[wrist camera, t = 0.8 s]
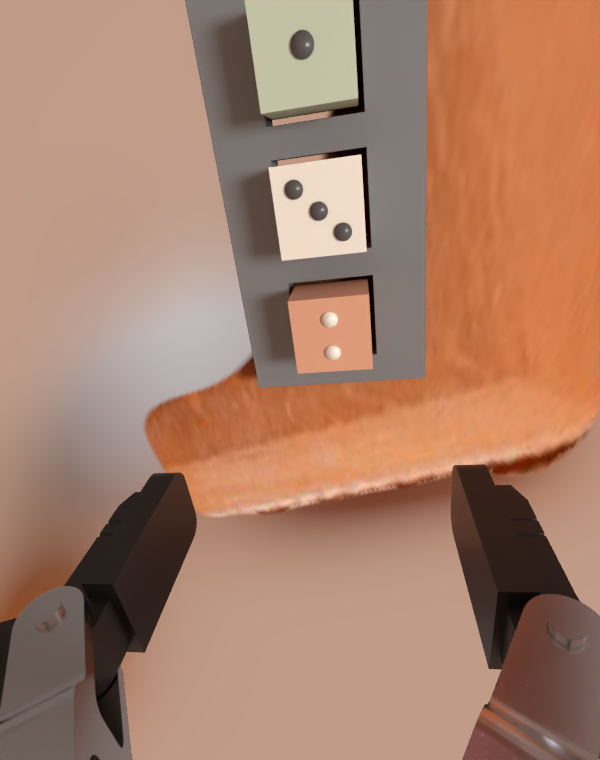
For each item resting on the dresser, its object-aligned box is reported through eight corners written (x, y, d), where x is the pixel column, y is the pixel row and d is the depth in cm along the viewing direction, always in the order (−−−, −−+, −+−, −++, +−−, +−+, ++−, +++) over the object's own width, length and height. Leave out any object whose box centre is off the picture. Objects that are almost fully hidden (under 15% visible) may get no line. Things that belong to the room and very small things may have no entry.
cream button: (279, 166, 21) (268, 167, 18) (360, 154, 20) (361, 154, 18) (290, 249, 23) (281, 261, 20) (365, 240, 22) (366, 252, 20)
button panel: (194, -20, 19) (177, -38, 18) (420, -70, 18) (427, -95, 16) (265, 373, 28) (259, 387, 26) (420, 363, 27) (425, 377, 25)
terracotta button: (294, 285, 24) (287, 302, 21) (367, 278, 23) (369, 294, 20) (303, 351, 26) (297, 374, 23) (371, 346, 25) (373, 369, 22)
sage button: (258, 12, 18) (242, -13, 16) (351, -6, 18) (351, -36, 15) (273, 119, 20) (260, 113, 18) (357, 106, 20) (358, 97, 17)
